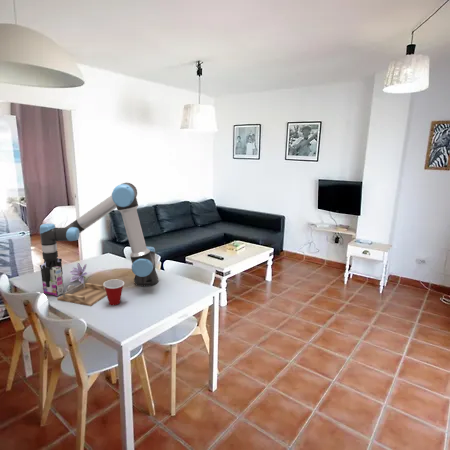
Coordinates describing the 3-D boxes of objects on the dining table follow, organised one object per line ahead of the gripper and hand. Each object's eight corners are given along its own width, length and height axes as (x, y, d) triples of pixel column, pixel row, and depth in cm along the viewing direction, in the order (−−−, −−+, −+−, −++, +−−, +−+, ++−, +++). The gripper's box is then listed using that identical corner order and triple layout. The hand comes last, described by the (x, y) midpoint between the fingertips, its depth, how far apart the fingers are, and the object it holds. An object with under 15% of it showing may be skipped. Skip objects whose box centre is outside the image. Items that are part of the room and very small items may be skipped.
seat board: (111, 292, 187) (111, 284, 185) (90, 306, 170) (90, 297, 169) (80, 287, 193) (79, 279, 191) (57, 300, 176) (56, 291, 174)
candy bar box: (64, 293, 184) (61, 266, 180) (57, 296, 179) (54, 269, 176) (50, 289, 188) (47, 263, 184) (43, 293, 183) (39, 266, 179)
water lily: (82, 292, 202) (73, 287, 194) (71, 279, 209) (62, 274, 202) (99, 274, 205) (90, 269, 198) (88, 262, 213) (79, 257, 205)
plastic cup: (114, 309, 166) (112, 288, 164) (100, 304, 172) (98, 284, 169) (129, 301, 176) (128, 281, 173) (115, 297, 181) (114, 277, 178)
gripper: (57, 246, 187) (60, 282, 192) (30, 255, 170) (35, 295, 175) (67, 247, 185) (71, 284, 190) (41, 256, 168) (46, 297, 173)
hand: (54, 289), depth 183 cm, fingers closed on candy bar box, 5 cm apart
